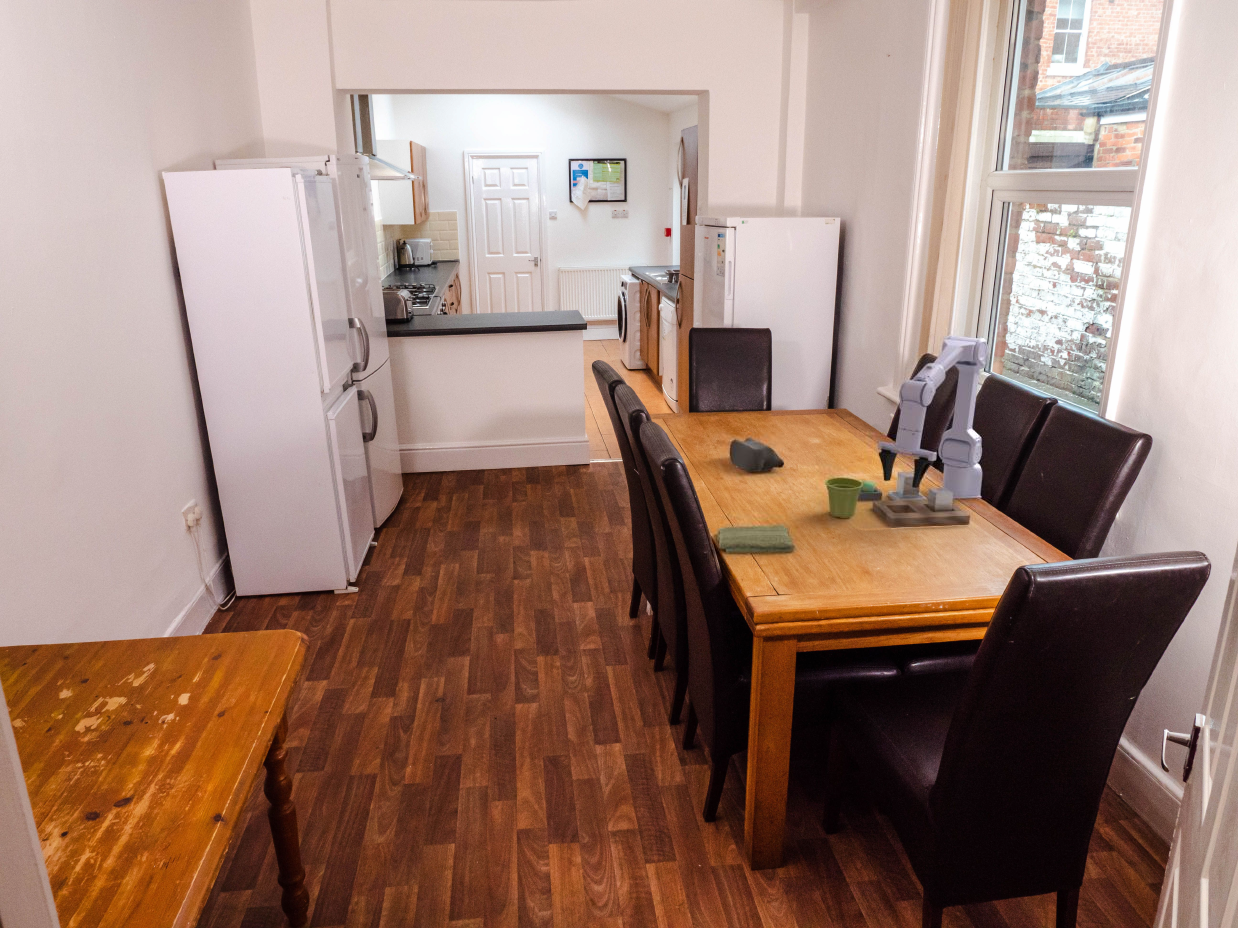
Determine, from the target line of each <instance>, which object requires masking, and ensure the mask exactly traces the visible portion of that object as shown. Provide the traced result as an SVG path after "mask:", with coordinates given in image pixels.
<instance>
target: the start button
mask: <svg viewBox="0 0 1238 928" xmlns="http://www.w3.org/2000/svg"><path fill="white" fill-rule="evenodd" d="M861 482H862V483H863V486H862V487H861V491H862V492H874V488H875V487H876V483H875V482H874V481H871V480H862V481H861Z"/></svg>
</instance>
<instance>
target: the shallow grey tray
mask: <svg viewBox="0 0 1238 928" xmlns="http://www.w3.org/2000/svg"><path fill="white" fill-rule="evenodd" d="M887 497H889V498H890V499H891V501H896V500H923V499H928V497H926V496H924V495H923V494H922V493H921V492H919V498H915V499H898V498H897V497H896V490H893V491H891V490H890V491H887Z"/></svg>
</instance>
